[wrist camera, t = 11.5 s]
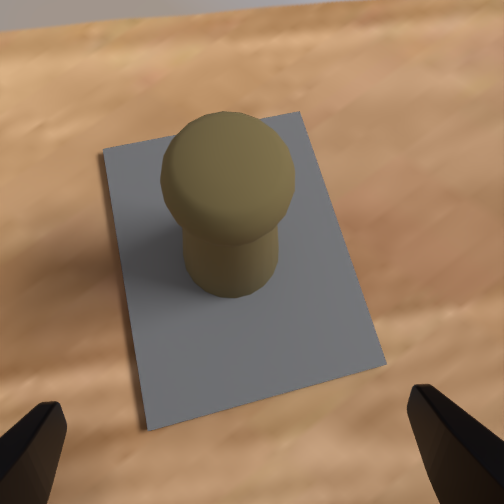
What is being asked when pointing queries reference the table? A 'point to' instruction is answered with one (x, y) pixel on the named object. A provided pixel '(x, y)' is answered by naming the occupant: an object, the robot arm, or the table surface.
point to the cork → (228, 199)
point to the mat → (236, 309)
